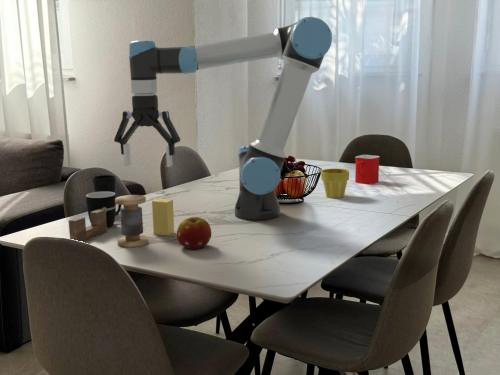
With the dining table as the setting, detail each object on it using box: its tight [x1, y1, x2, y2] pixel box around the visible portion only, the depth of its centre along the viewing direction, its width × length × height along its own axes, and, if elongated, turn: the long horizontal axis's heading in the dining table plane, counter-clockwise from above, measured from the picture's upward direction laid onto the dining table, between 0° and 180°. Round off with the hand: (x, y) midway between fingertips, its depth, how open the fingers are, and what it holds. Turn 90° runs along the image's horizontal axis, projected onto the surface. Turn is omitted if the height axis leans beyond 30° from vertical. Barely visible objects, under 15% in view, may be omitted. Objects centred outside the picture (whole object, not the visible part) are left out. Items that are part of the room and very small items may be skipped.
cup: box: [92, 174, 117, 194], centre depth 207 cm, size 8×8×12 cm
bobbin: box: [115, 194, 149, 249], centre depth 169 cm, size 8×8×13 cm
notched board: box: [68, 209, 108, 243], centre depth 176 cm, size 2×14×7 cm, turn 157°
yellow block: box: [151, 198, 175, 236], centre depth 179 cm, size 5×4×10 cm
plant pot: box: [320, 167, 350, 199], centre depth 225 cm, size 10×10×10 cm
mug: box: [85, 191, 122, 229], centre depth 189 cm, size 12×9×10 cm
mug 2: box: [354, 154, 380, 185], centre depth 249 cm, size 12×8×11 cm
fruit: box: [176, 216, 212, 250], centre depth 166 cm, size 10×9×8 cm
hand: (148, 165), depth 182 cm, fingers open, 13 cm apart
